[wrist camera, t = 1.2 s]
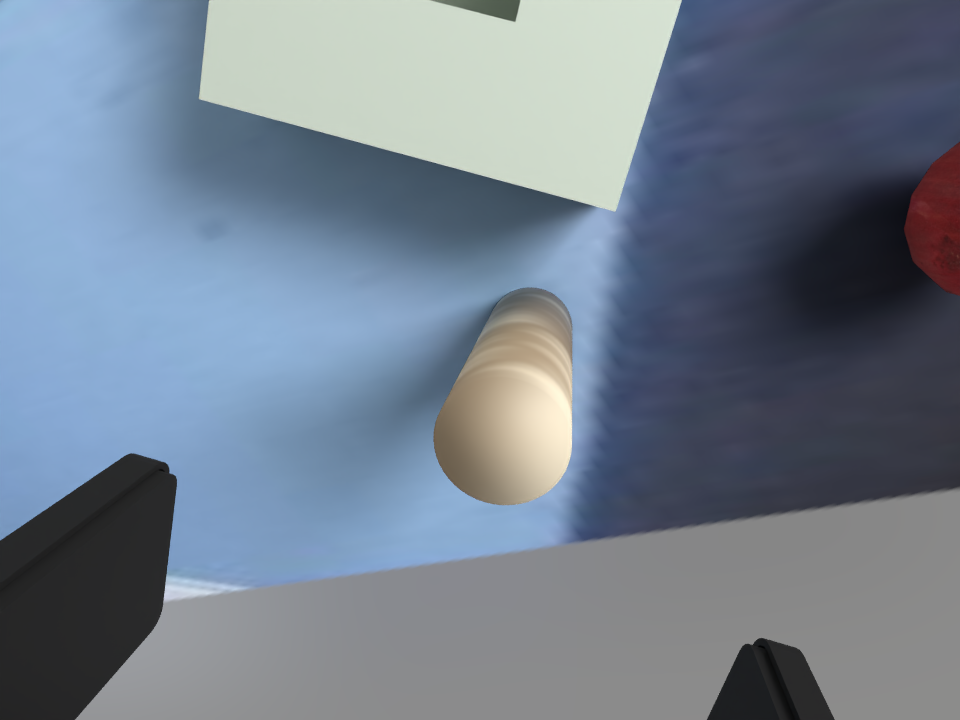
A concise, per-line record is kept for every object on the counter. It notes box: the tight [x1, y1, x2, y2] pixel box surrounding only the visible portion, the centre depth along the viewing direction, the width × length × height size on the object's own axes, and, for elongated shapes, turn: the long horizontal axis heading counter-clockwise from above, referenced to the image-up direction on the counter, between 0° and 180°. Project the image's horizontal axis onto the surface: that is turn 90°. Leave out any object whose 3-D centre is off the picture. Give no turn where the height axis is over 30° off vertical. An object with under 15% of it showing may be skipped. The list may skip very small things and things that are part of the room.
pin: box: [434, 288, 572, 505], centre depth 23 cm, size 4×4×12 cm
